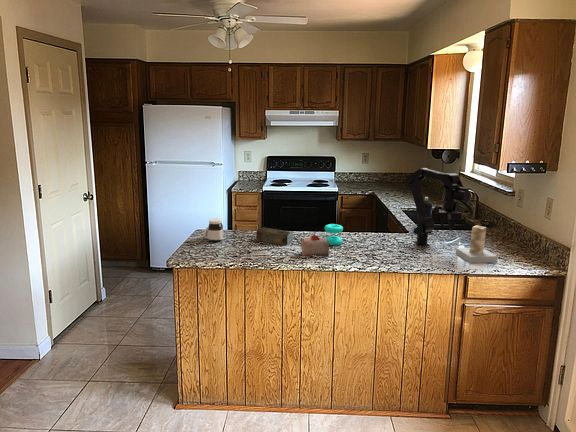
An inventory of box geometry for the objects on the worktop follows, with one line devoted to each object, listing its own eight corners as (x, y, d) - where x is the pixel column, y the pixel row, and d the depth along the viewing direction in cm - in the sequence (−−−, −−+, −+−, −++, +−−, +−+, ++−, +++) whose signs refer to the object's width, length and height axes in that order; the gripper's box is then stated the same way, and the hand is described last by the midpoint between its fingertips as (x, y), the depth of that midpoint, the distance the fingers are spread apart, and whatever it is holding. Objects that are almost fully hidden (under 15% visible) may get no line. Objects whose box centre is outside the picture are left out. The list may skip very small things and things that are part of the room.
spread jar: (221, 243, 248) (221, 222, 245) (200, 242, 248) (199, 222, 245) (224, 237, 259) (224, 217, 256) (204, 236, 259) (204, 216, 257)
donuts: (331, 222, 255) (346, 225, 249) (330, 239, 258) (345, 243, 252) (321, 226, 247) (337, 229, 242) (320, 243, 250) (336, 247, 244)
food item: (302, 257, 228) (303, 238, 226) (300, 252, 236) (300, 233, 233) (329, 256, 230) (330, 237, 227) (326, 251, 237) (327, 233, 235)
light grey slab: (455, 253, 237) (456, 248, 236) (480, 252, 239) (481, 247, 238) (470, 263, 223) (470, 257, 222) (496, 261, 225) (497, 256, 225)
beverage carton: (287, 245, 246) (287, 234, 244) (255, 241, 253) (255, 229, 251) (293, 241, 253) (293, 230, 251) (261, 237, 260) (261, 226, 259)
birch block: (469, 252, 230) (472, 227, 227) (473, 249, 234) (476, 225, 231) (479, 254, 227) (482, 229, 224) (483, 252, 230) (486, 227, 227)
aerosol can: (421, 231, 277) (424, 198, 272) (414, 227, 285) (416, 196, 280) (433, 230, 280) (436, 198, 275) (425, 226, 287) (428, 195, 282)
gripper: (474, 202, 224) (470, 232, 228) (455, 194, 242) (452, 223, 246) (453, 202, 222) (449, 233, 226) (435, 194, 240) (432, 223, 244)
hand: (446, 228), depth 236 cm, fingers open, 9 cm apart
